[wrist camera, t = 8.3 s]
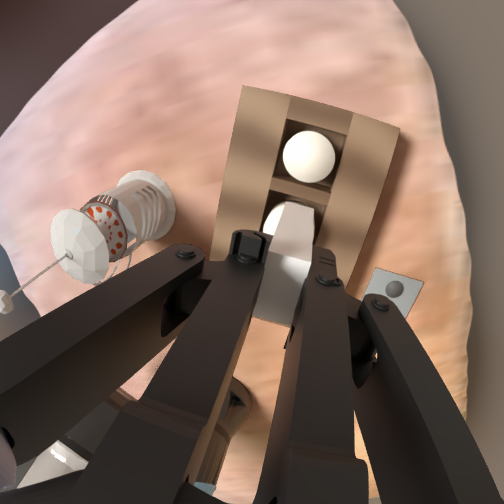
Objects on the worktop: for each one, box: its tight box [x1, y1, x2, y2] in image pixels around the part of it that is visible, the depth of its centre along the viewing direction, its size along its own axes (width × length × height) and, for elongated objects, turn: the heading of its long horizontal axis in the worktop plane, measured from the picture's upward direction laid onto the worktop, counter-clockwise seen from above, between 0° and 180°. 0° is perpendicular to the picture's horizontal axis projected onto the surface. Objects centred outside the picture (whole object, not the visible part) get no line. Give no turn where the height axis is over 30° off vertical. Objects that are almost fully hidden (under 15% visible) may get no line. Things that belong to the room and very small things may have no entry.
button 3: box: [283, 130, 335, 183], centre depth 31 cm, size 5×5×3 cm
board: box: [209, 85, 400, 328], centre depth 35 cm, size 26×16×4 cm, turn 168°
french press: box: [0, 170, 176, 314], centre depth 30 cm, size 10×12×25 cm
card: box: [361, 267, 424, 318], centre depth 39 cm, size 11×7×2 cm, turn 168°
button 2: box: [263, 200, 315, 238], centre depth 33 cm, size 5×5×3 cm
